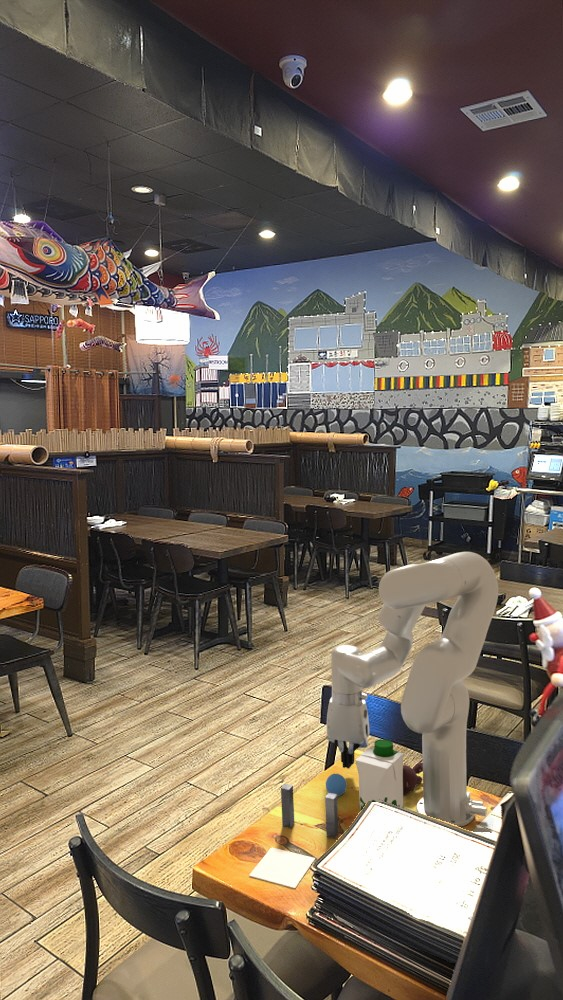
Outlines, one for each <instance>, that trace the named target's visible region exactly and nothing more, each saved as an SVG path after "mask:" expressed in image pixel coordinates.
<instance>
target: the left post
mask: <svg viewBox="0 0 563 1000" xmlns="http://www.w3.org/2000/svg"><path fill="white" fill-rule="evenodd" d="M280 796H281V797H280V800H281V804H280V805H281V822H282V825H281V826H282V828H286V829H292V828H293V826H294V825H295V804H294V785H293V784H287V783H284V784H283V785H282V786H281V787H280Z"/></svg>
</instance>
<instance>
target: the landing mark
mask: <svg viewBox="0 0 563 1000" xmlns="http://www.w3.org/2000/svg"><path fill="white" fill-rule="evenodd" d="M315 860H316V857H313V856H307V855H304V854H302V853H301V854H300V853H297V852H296V853H295V852H291V851H288V850H284V849H281V848H276V847H270V848H269V850H268V851H267V852H266V853H265V855H264V856H263V857H262V858H261V860H260V861H259V862H258V863H257V864H256V866H255V867H254V868H253V869H252V871H251V872H250V874H249V875H248V876H249V877H251V878H254V879H257V880H262V881H265V882H269V883H272V884H276V885H280V886H283V887H287V888H291V889H294V890H295V889H296V888H297V886H298V885H300V882H301V881H302V879H303V878H304V877H305V875H306V874H307V872H308V870H309V869H310V868H311V866H312V865H313V863H314V862H315ZM311 864H312V865H311Z"/></svg>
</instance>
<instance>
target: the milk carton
mask: <svg viewBox="0 0 563 1000" xmlns="http://www.w3.org/2000/svg"><path fill="white" fill-rule="evenodd" d="M373 743H374V744H373V745H371V746H370V747H369V748H367V749H366V750H365V751H364V752H362V753H360V756H358V757H357V758H356V759H354V762H355V765H356V770H357V773H358V793H359V794H358V795H359V796H358V797H359V801H358V802H359V812H360V811H361V810H362V809H363V807H364V806H365V804H366V803H367V802H368V801H372V802H382V800H383V801H385V802H388V803H392V804H394V805H396V806H399V807H402V808H403V809H404V796H403V765H404V756H405V754H404V753H402V752H399V751H397V750H394V743H393V741H392V740H390V739H384V738H383V739H382V738H381V739H377V740H375V741H374V742H373ZM379 799H380V800H379Z"/></svg>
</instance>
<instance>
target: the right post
mask: <svg viewBox="0 0 563 1000" xmlns="http://www.w3.org/2000/svg"><path fill="white" fill-rule="evenodd" d="M324 801H325V802H324V803H325V827H326V828H325V833H326V838H328V839H333V840H336V839H337V837H338V836H339V834H340V833H339V811H338V810H339V809H338V808H339V807H338V806H339V805H338V802H339V801H338V796H337V794H333V793H329V792H327V794H326V795H325V797H324Z"/></svg>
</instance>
